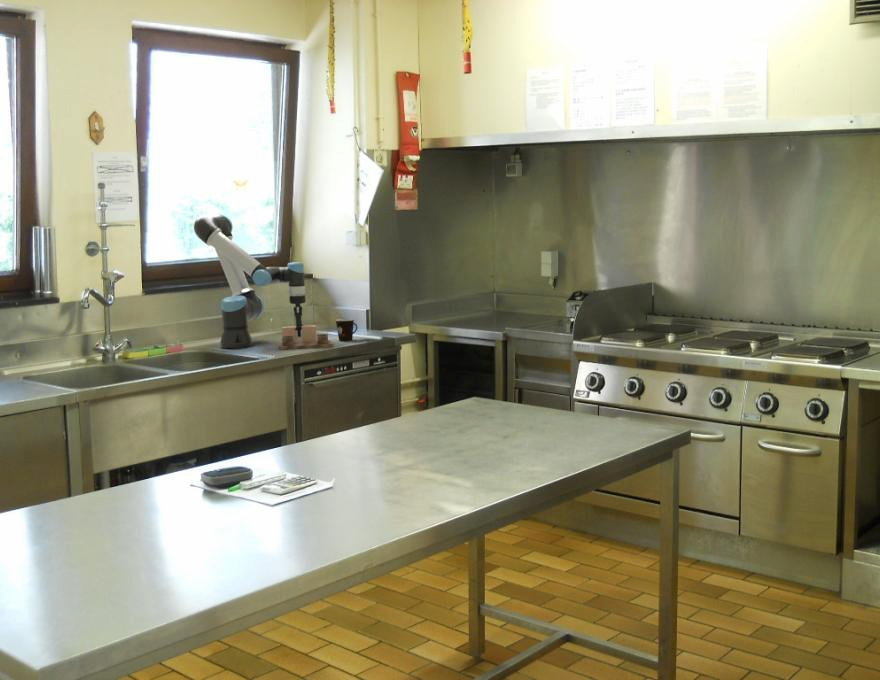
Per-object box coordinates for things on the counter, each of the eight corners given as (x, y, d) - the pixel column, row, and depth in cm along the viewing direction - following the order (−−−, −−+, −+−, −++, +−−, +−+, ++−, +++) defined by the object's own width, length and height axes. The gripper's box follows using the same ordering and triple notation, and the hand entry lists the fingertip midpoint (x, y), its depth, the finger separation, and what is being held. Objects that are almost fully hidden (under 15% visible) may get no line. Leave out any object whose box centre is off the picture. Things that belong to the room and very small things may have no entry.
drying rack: (279, 350, 471) (278, 339, 471) (280, 346, 483) (279, 335, 482) (331, 347, 474) (331, 336, 473) (331, 343, 486) (330, 333, 485)
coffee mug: (334, 340, 496) (333, 319, 494) (351, 338, 499) (350, 318, 498) (342, 343, 485) (341, 322, 484) (359, 341, 489) (358, 320, 488)
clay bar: (282, 344, 489) (282, 327, 487) (283, 343, 492) (282, 326, 490) (316, 342, 491) (315, 326, 489) (316, 341, 494) (315, 325, 492)
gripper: (305, 297, 478) (307, 345, 481) (305, 292, 499) (307, 338, 502) (288, 297, 477) (291, 345, 480) (289, 293, 498) (292, 339, 501)
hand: (299, 341), depth 491 cm, fingers open, 9 cm apart
